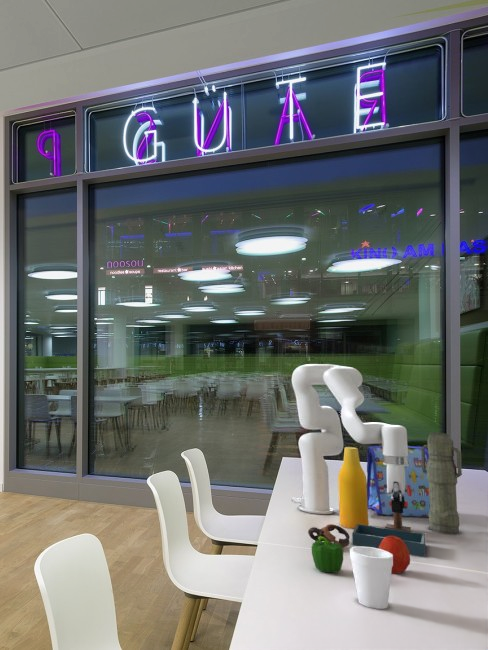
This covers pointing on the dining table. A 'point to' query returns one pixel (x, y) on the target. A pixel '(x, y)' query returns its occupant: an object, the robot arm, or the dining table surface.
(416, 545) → the tray
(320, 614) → the dining table surface
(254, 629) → the dining table surface
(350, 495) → the beer bottle
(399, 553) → the apple
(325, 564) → the bell pepper
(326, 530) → the brown twisted loop
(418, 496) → the lunch bag
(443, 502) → the thermos
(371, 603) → the foam cup
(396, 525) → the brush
